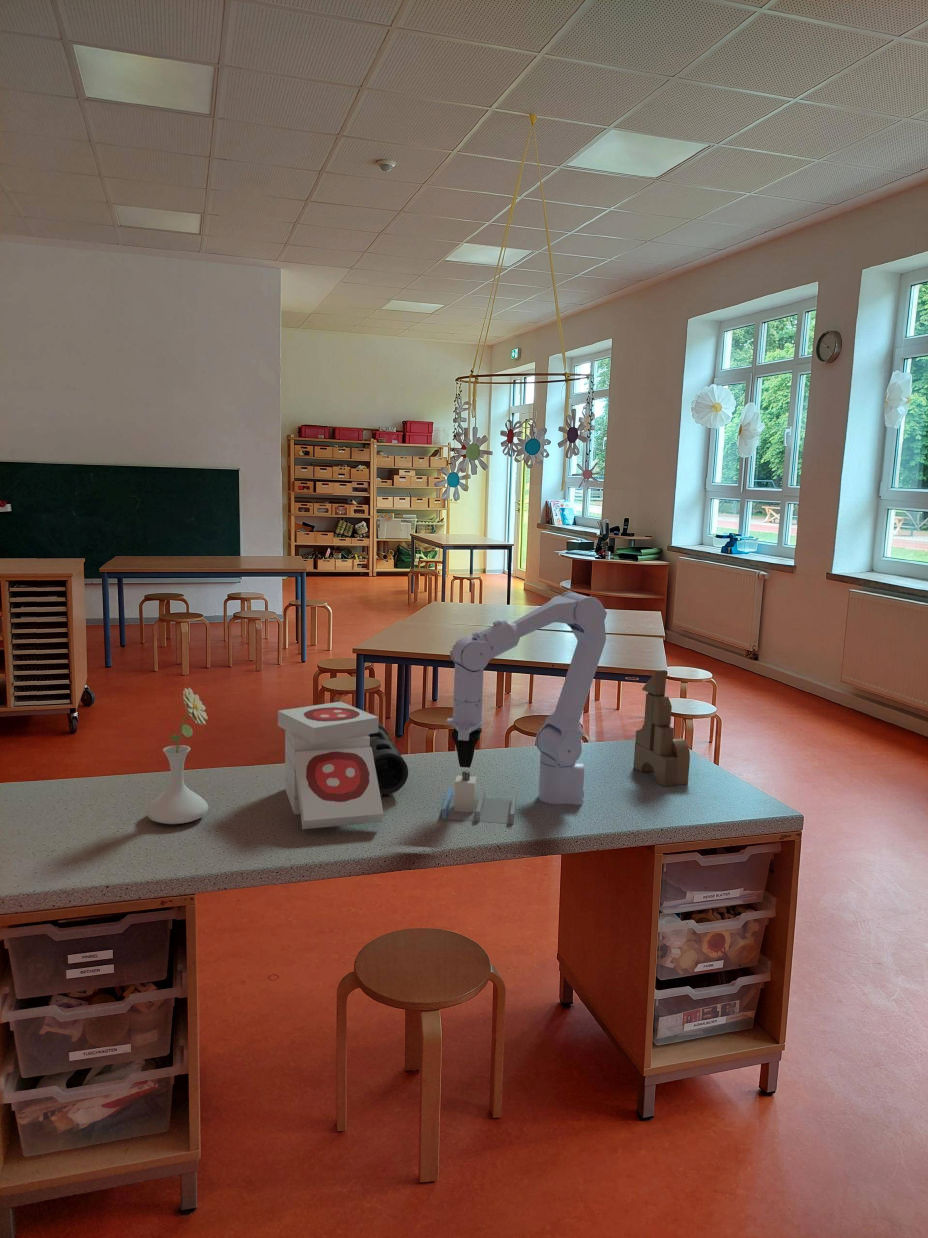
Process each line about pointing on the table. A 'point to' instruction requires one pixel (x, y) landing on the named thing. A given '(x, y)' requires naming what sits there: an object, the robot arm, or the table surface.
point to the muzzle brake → (387, 763)
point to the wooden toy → (660, 738)
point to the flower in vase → (180, 775)
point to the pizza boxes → (331, 765)
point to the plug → (465, 792)
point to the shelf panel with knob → (482, 809)
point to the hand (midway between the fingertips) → (465, 765)
